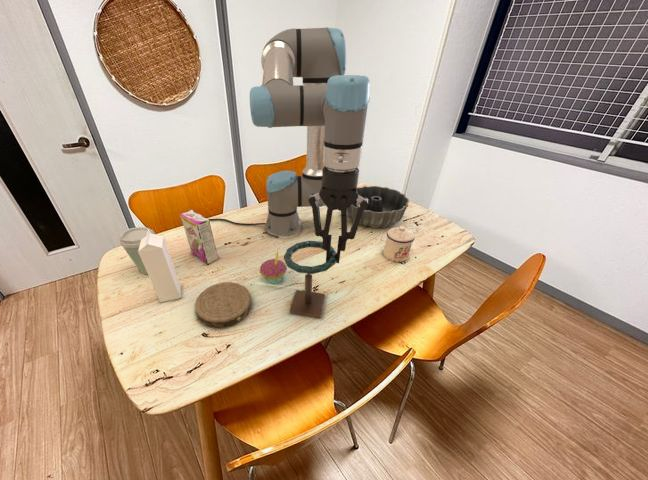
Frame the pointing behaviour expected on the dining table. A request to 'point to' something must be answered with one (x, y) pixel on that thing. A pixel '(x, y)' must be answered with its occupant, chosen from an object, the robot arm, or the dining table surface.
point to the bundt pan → (380, 206)
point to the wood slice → (223, 305)
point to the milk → (159, 267)
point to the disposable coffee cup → (134, 244)
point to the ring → (309, 269)
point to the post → (308, 301)
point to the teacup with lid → (398, 244)
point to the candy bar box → (199, 236)
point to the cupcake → (273, 270)
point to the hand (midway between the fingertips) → (332, 259)
